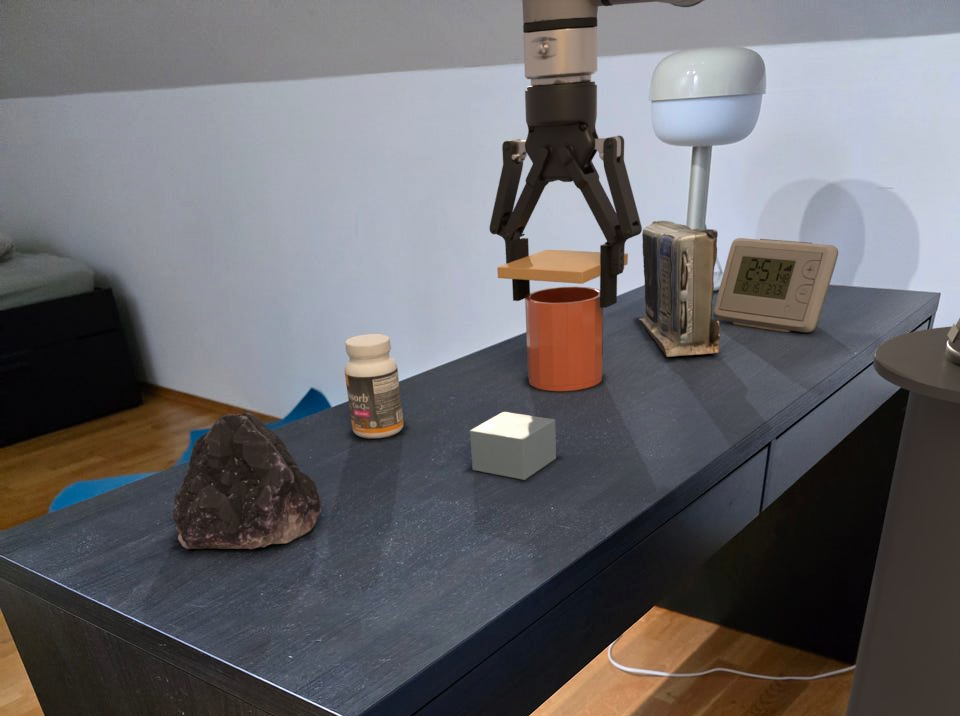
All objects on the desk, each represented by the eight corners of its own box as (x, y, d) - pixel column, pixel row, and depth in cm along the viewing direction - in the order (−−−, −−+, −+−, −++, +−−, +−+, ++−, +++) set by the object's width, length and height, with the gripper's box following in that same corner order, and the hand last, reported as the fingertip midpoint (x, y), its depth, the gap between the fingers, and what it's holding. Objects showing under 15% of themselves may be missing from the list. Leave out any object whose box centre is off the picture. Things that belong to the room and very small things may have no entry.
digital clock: (706, 320, 128) (711, 241, 122) (751, 309, 131) (758, 232, 126) (792, 340, 116) (803, 254, 110) (839, 328, 119) (852, 243, 114)
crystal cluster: (255, 580, 71) (243, 462, 66) (134, 539, 76) (115, 427, 71) (353, 525, 81) (350, 418, 76) (241, 492, 86) (231, 391, 81)
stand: (556, 458, 87) (555, 419, 85) (524, 480, 83) (522, 439, 81) (505, 449, 90) (503, 411, 88) (472, 470, 86) (469, 430, 84)
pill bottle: (342, 433, 97) (328, 342, 92) (382, 419, 100) (371, 329, 95) (375, 444, 94) (361, 349, 88) (415, 428, 97) (405, 336, 92)
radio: (638, 318, 132) (641, 208, 124) (697, 315, 131) (704, 204, 123) (650, 362, 112) (654, 235, 104) (719, 359, 111) (729, 230, 103)
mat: (627, 264, 102) (628, 253, 102) (582, 283, 95) (582, 272, 94) (546, 259, 108) (546, 249, 107) (497, 278, 100) (497, 266, 100)
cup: (614, 373, 109) (616, 288, 104) (579, 395, 103) (579, 306, 98) (552, 366, 114) (550, 284, 108) (515, 386, 108) (511, 300, 102)
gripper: (448, 89, 95) (464, 302, 107) (648, 75, 83) (641, 316, 95) (487, 85, 100) (498, 289, 112) (681, 72, 88) (669, 301, 100)
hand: (563, 301), depth 103 cm, fingers closed on mat, 11 cm apart
